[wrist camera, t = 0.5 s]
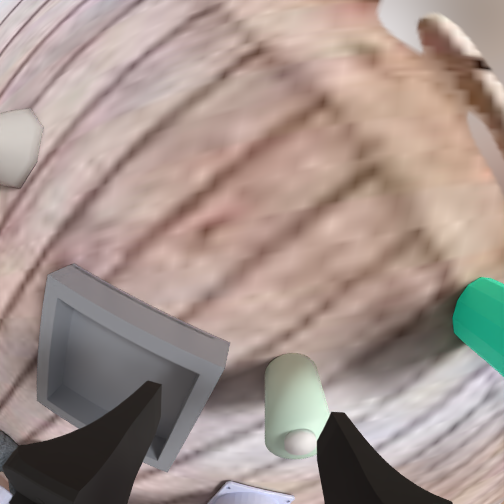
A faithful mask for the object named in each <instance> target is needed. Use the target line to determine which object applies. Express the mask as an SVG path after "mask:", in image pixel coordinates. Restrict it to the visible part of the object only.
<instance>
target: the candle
mask: <svg viewBox="0 0 504 504" xmlns="http://www.w3.org/2000/svg"><path fill="white" fill-rule="evenodd" d="M452 319H453V328H454V333H455V334H456V335H457V336H458V337H459V338H460V339H461V340H462V341H463V342H464V343H465V344H466V345H467V346H469V347H470V348H471V349H472V350H473V351H475V352H476V353H477V354H478V355H479V356H480V357H482V358H483V359H484V360H485V361H486V362H487V363H489V364H490V365H491V366H492V367H493V368H494V369H495V370H497V371H498V372H499V373H500V374H501V375H502V376H503V377H504V284H503V283H501V282H498V281H496V280H494V279H491V278H484V277H480V278H478V279H477V280H475V281H474V282H472V283H470V284H469V285H468V286H467V287H466V289H465V290H464V292H463V293H462V294H461V296H460V297H459V299H458V300H457V304H456V307H455V311H454V314H453V317H452Z"/></svg>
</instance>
